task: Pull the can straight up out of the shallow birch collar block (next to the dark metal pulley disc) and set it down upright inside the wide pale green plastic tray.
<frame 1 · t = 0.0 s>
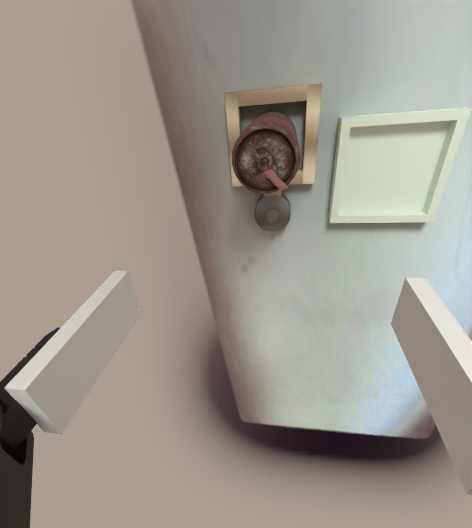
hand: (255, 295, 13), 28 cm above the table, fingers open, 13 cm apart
collar block: (272, 138, 35), on the table
tray: (386, 169, 35), on the table
can: (272, 138, 35), resting in collar block
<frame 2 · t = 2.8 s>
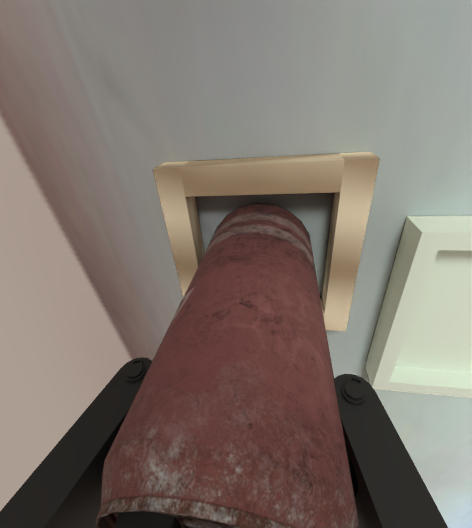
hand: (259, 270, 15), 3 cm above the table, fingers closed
collar block: (263, 247, 17), on the table
can: (263, 245, 17), resting in collar block, touching hand
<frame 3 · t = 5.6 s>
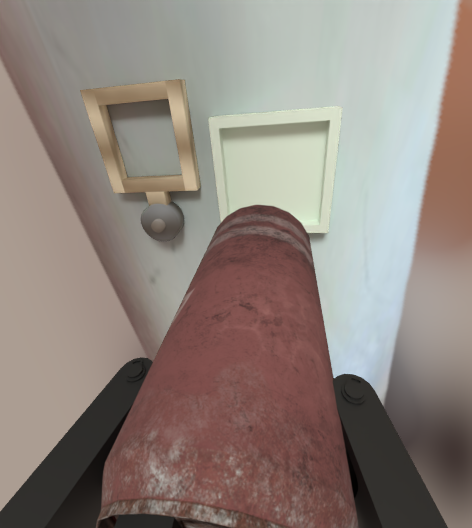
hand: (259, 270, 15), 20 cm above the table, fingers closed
collar block: (148, 141, 31), on the table
tray: (273, 175, 31), on the table
can: (262, 246, 17), point 17 cm above the table, touching hand
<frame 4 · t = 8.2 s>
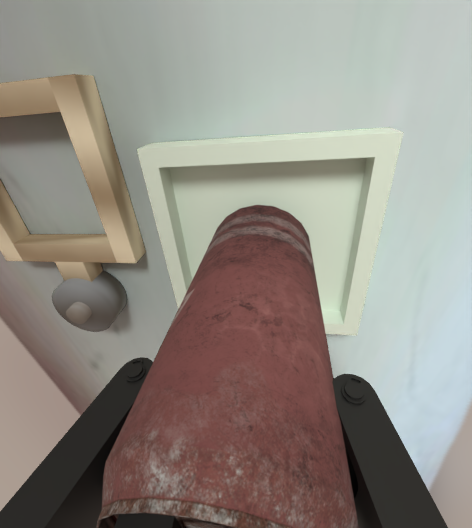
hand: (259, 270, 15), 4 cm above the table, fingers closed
collar block: (51, 181, 18), on the table
tray: (264, 240, 18), on the table
can: (262, 246, 17), point 1 cm above the table, touching hand
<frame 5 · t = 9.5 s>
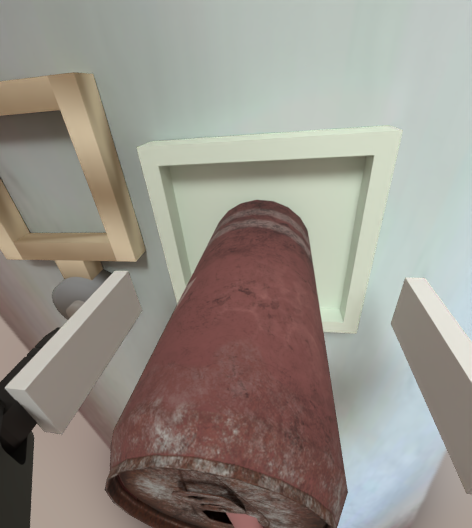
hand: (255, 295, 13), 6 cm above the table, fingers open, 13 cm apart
collar block: (50, 180, 18), on the table
tray: (264, 238, 18), on the table
can: (263, 241, 18), resting on tray
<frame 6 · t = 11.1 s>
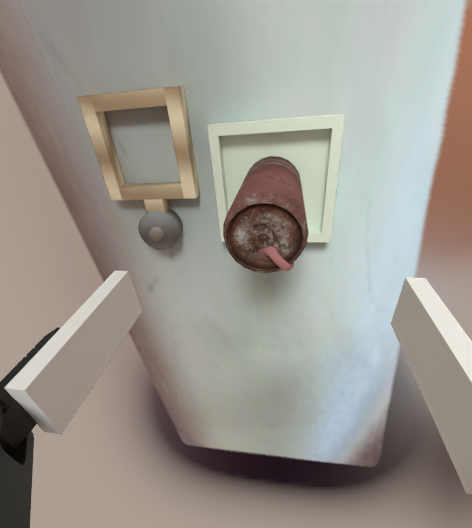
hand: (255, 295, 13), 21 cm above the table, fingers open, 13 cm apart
collar block: (146, 148, 31), on the table
tray: (274, 183, 31), on the table
can: (273, 184, 30), resting on tray
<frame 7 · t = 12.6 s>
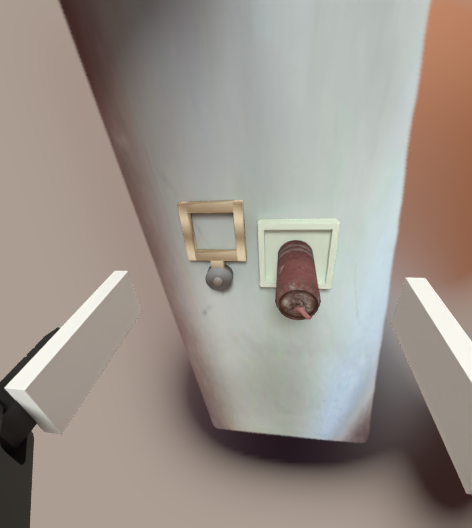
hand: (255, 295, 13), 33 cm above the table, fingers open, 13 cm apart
collar block: (214, 230, 49), on the table
tray: (295, 252, 48), on the table
can: (295, 253, 48), resting on tray
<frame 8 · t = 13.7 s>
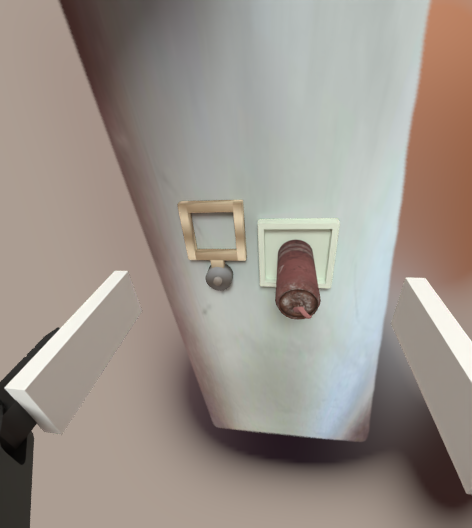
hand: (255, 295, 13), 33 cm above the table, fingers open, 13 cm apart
collar block: (214, 229, 49), on the table
tray: (295, 252, 48), on the table
can: (295, 253, 48), resting on tray
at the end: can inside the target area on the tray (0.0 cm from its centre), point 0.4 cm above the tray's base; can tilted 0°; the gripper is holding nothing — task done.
